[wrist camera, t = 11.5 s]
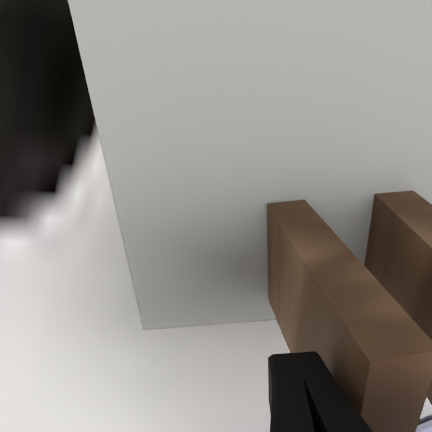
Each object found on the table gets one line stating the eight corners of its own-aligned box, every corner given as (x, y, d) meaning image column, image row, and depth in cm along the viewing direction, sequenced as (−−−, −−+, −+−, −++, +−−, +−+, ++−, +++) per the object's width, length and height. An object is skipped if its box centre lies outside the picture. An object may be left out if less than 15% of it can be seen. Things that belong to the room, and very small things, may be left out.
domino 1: (304, 199, 15) (440, 349, 8) (300, 294, 17) (401, 476, 10) (266, 204, 15) (370, 363, 8) (268, 299, 17) (347, 488, 10)
